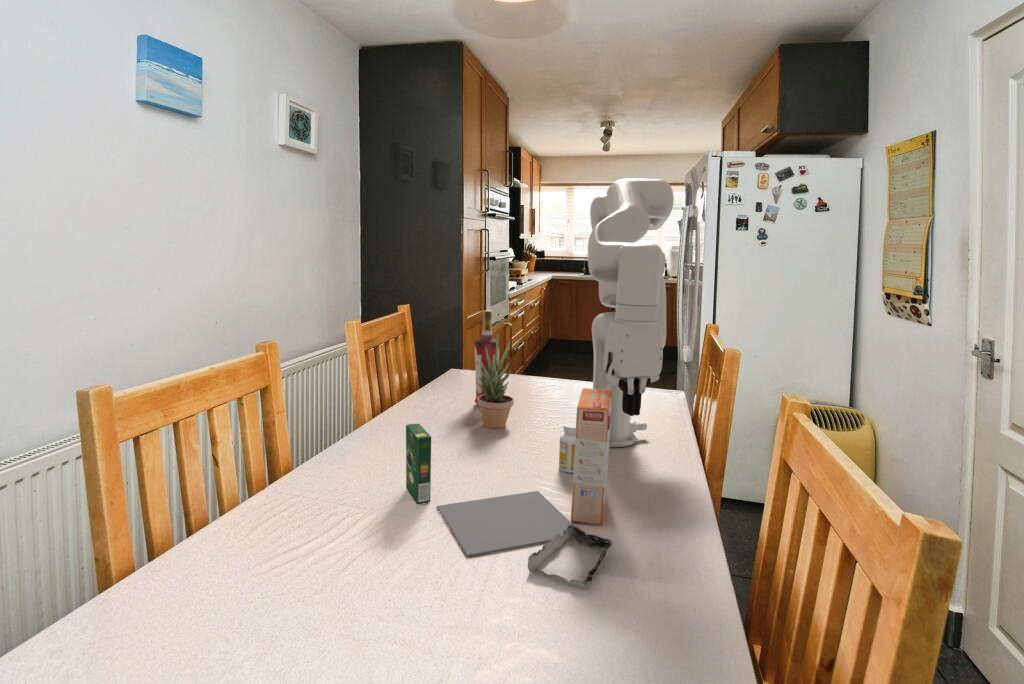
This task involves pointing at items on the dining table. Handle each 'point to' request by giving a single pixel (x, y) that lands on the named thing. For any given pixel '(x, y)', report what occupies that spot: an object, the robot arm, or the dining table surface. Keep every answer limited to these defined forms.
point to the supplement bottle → (567, 448)
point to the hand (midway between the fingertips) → (631, 413)
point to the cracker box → (591, 456)
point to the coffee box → (418, 463)
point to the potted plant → (495, 392)
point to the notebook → (503, 522)
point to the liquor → (484, 351)
